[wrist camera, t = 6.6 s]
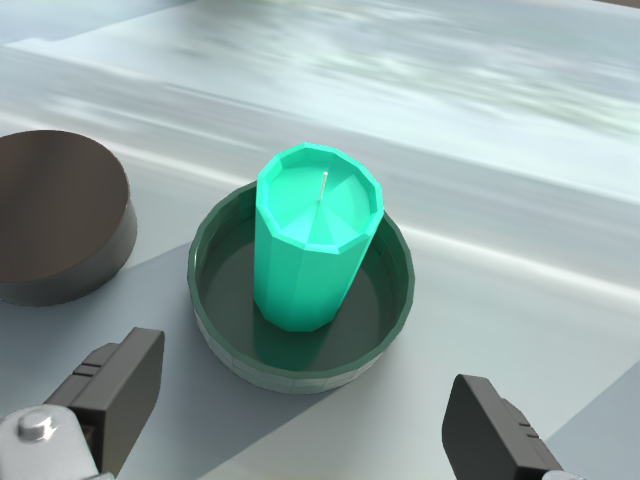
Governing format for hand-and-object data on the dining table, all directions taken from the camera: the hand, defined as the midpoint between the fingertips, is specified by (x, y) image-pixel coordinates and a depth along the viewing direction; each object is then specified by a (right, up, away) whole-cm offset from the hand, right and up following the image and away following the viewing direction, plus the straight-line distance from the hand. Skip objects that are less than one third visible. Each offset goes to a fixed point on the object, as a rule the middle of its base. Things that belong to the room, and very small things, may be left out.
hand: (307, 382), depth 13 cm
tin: (-1, +1, +18) cm, 18 cm away
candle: (-1, +1, +18) cm, 18 cm away
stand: (-17, +4, +17) cm, 24 cm away
